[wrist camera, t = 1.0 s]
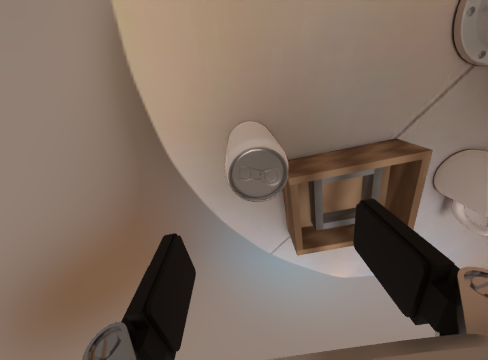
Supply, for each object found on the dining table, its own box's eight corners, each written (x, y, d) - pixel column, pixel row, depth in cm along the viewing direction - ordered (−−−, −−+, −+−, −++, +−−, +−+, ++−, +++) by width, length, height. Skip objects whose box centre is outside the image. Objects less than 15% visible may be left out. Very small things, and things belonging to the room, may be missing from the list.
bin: (396, 138, 29) (432, 150, 24) (384, 212, 35) (411, 235, 30) (279, 162, 30) (289, 178, 25) (288, 230, 36) (297, 255, 31)
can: (267, 165, 30) (284, 208, 19) (226, 160, 30) (220, 202, 19) (275, 123, 28) (300, 146, 17) (230, 117, 27) (226, 138, 16)
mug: (460, 209, 36) (539, 252, 26) (416, 212, 36) (480, 255, 26) (493, 146, 31) (606, 172, 21) (442, 149, 30) (534, 176, 21)
